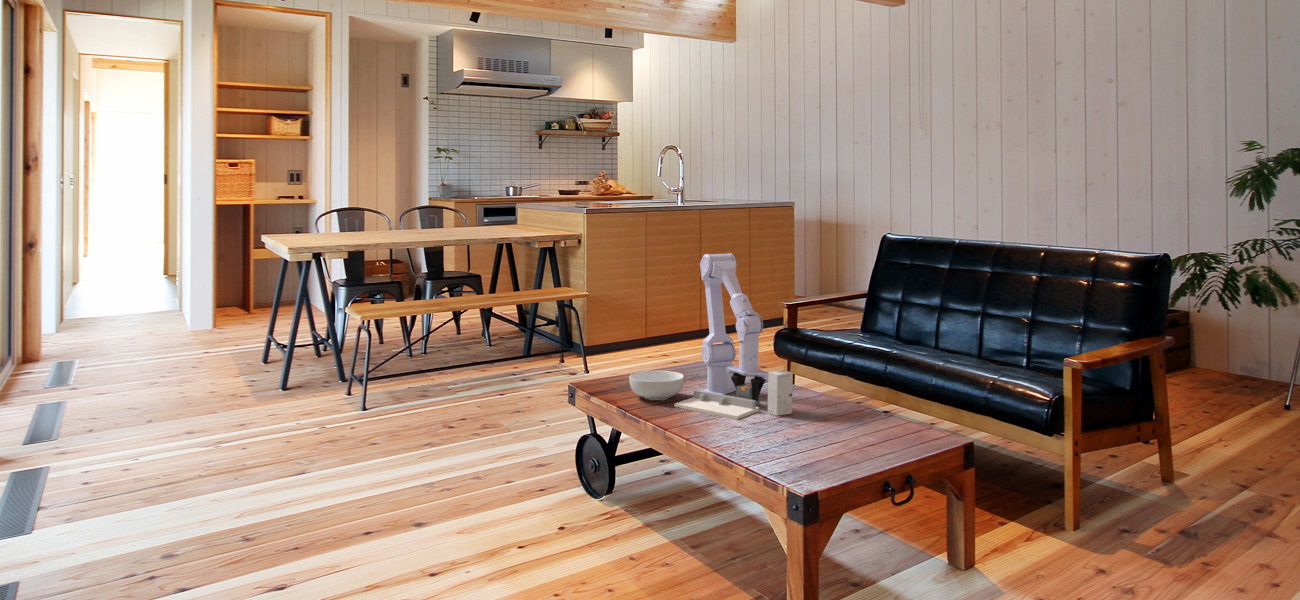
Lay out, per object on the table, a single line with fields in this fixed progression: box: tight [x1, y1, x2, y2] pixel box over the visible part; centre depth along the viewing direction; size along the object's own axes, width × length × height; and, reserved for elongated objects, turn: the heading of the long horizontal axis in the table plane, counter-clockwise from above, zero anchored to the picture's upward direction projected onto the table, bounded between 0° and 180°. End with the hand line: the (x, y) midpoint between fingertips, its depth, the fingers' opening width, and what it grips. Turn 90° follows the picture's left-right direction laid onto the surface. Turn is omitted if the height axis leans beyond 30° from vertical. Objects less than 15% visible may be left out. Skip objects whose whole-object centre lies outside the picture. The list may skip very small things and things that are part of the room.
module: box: [735, 382, 761, 406], centre depth 255 cm, size 6×4×6 cm
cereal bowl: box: [628, 370, 685, 401], centre depth 264 cm, size 17×17×7 cm
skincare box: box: [767, 369, 794, 417], centre depth 245 cm, size 6×4×12 cm
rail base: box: [674, 389, 760, 420], centre depth 251 cm, size 12×22×3 cm, turn 52°
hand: (748, 399), depth 255 cm, fingers closed on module, 4 cm apart
